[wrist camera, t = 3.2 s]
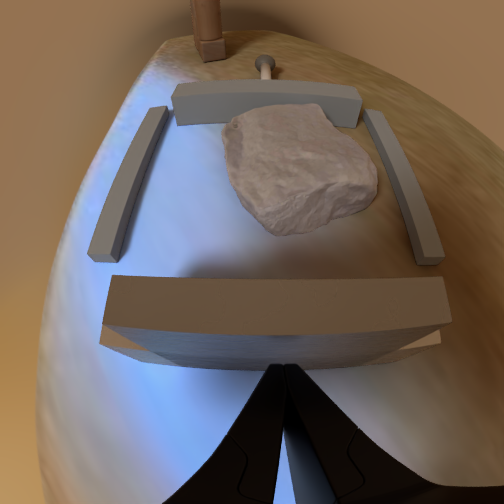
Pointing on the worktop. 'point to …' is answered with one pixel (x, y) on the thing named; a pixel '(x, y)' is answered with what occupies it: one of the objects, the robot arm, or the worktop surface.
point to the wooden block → (208, 29)
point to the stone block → (296, 168)
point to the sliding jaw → (273, 321)
